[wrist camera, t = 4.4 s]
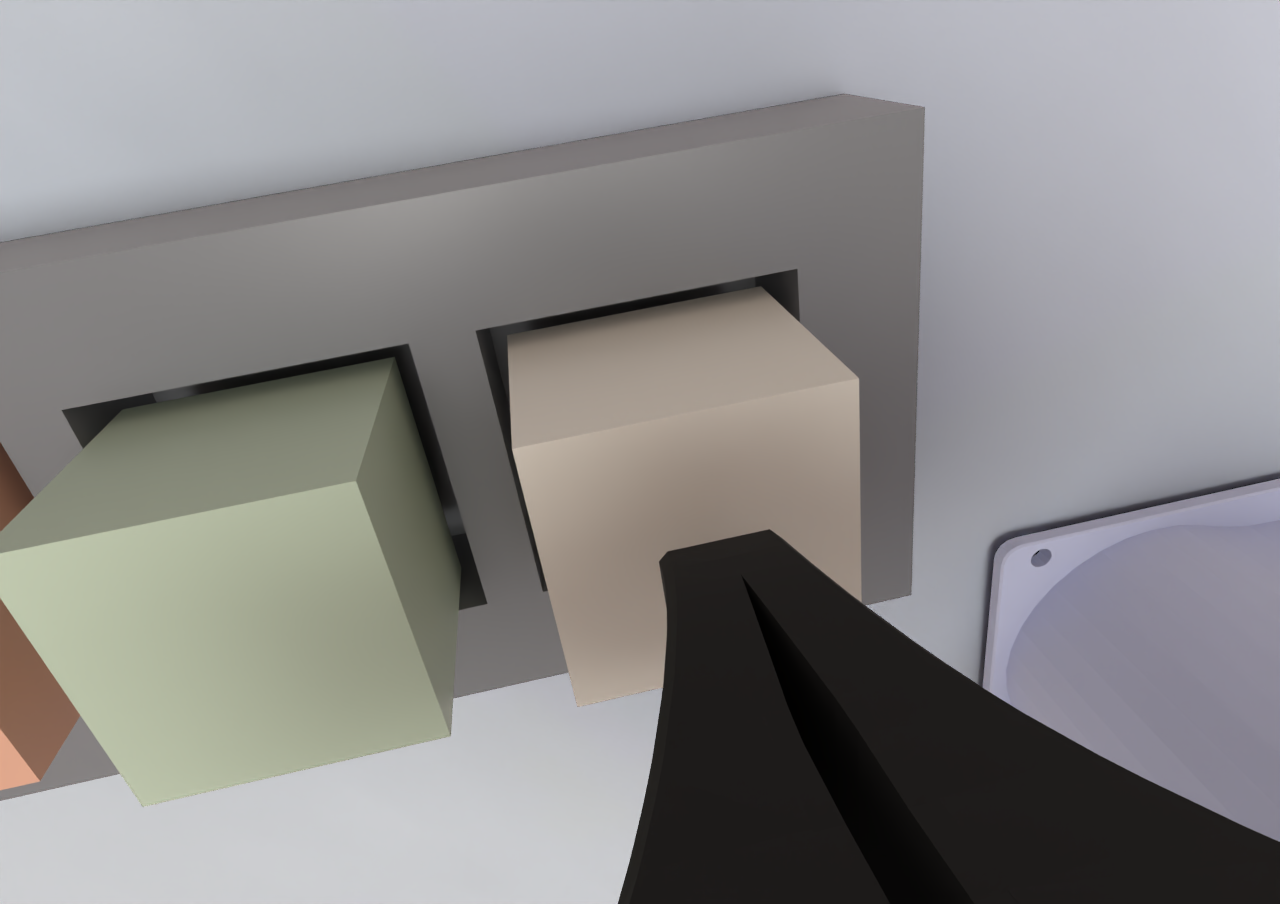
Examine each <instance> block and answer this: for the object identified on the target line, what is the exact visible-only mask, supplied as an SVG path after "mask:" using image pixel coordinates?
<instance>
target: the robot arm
mask: <svg viewBox="0 0 1280 904" xmlns="http://www.w3.org/2000/svg"><path fill="white" fill-rule="evenodd" d="M1039 550H1040V551H1039ZM1037 551H1039V552H1038V553H1037V554H1036V555H1035V556H1033V555H1034V554H1035V553H1036V552H1037ZM1032 556H1033V557H1032ZM659 566H660V572H661V578H662V584H663V590H664V596H665V602H666V608H667V640H666V654H665V668H664V682H663V691H662V700H661V706H660V713H659V719H658V726H657V732H656V739H655V745H654V752H653V758H652V764H651V769H650V774H649V779H648V784H647V789H646V794H645V799H644V803H643V808H642V813H641V817H640V821H639V825H638V829H637V834H636V838H635V842H634V846H633V850H632V854H631V858H630V862H629V866H628V869H627V873H626V877H625V880H624V884H623V887H622V891H621V894H620V898H619V902H618V904H1280V479H1276V480H1271V481H1267V482H1262V483H1258V484H1253V485H1249V486H1244V487H1240V488H1235V489H1231V490H1226V491H1222V492H1217V493H1213V494H1208V495H1204V496H1199V497H1195V498H1190V499H1186V500H1181V501H1177V502H1172V503H1168V504H1163V505H1159V506H1154V507H1150V508H1145V509H1141V510H1136V511H1132V512H1127V513H1123V514H1118V515H1114V516H1109V517H1105V518H1100V519H1096V520H1091V521H1087V522H1082V523H1078V524H1073V525H1069V526H1064V527H1060V528H1056V529H1051V530H1047V531H1042V532H1038V533H1033V534H1029V535H1024V536H1020V537H1015V538H1013V539H1010V540H1007V541H1006V542H1005V543H1003V544H1002V545H1001V546H1000V547H999V549H998V550H997V551H996V554H995V557H994V566H993V577H992V588H991V599H990V610H989V622H988V633H987V644H986V655H985V666H984V677H983V687H981V686H979V685H978V684H976V683H975V682H973V681H972V680H970V679H969V678H967V677H966V676H964V675H963V674H961V673H960V672H958V671H957V670H955V669H954V668H952V667H951V666H949V665H948V664H946V663H944V662H943V661H941V660H940V659H939V658H937V657H936V656H934V655H933V654H931V653H930V652H928V651H927V650H926V649H924V648H923V647H921V646H920V645H918V644H917V643H916V642H914V641H913V640H911V639H910V638H909V637H907V636H906V635H905V634H903V633H902V632H900V631H899V630H898V629H896V628H895V627H894V626H892V625H891V624H890V623H888V622H887V621H885V620H884V619H883V618H881V617H880V616H879V615H877V614H876V613H875V612H873V611H872V610H870V609H869V608H868V607H866V606H865V605H864V604H863V603H861V602H860V601H859V600H857V599H856V598H855V597H854V596H852V595H851V594H850V593H848V592H847V591H846V590H845V589H843V588H842V587H841V586H840V585H838V584H837V583H836V582H835V581H833V580H832V579H831V578H830V577H828V576H827V575H826V574H825V573H823V572H822V571H821V570H820V569H818V568H817V567H816V566H815V565H814V564H812V563H811V562H810V561H809V560H808V559H806V558H805V557H804V556H803V555H802V554H800V553H799V552H798V551H797V550H796V549H794V548H793V547H792V546H791V545H790V544H788V543H787V542H786V541H785V540H784V539H783V538H781V537H780V536H779V535H777V534H776V533H774V532H773V531H772V530H770V529H768V530H763V531H759V532H754V533H750V534H745V535H740V536H736V537H731V538H727V539H722V540H718V541H713V542H708V543H704V544H699V545H695V546H690V547H685V548H681V549H676V550H672V551H667V552H666V554H665V555H664V556H663V557H662V558H661V560H660V561H659Z"/></svg>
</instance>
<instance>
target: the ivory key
mask: <svg viewBox="0 0 1280 904" xmlns="http://www.w3.org/2000/svg"><path fill="white" fill-rule="evenodd" d="M507 343H508V367H509V391H510V415H511V439H512V451H513V455H514V459H515V463H516V467H517V471H518V475H519V479H520V483H521V487H522V491H523V495H524V499H525V502H526V506H527V510H528V514H529V518H530V522H531V526H532V530H533V534H534V538H535V542H536V546H537V550H538V554H539V558H540V561H541V565H542V569H543V573H544V577H545V581H546V585H547V589H548V593H549V597H550V601H551V605H552V609H553V613H554V617H555V620H556V624H557V628H558V632H559V636H560V640H561V644H562V648H563V652H564V656H565V660H566V664H567V668H568V672H569V676H570V679H571V683H572V687H573V691H574V695H575V699H576V703H577V707H580V706H584V705H589V704H593V703H597V702H602V701H606V700H610V699H615V698H619V697H624V696H628V695H632V694H637V693H641V692H645V691H650V690H654V689H658V688H663V682H664V668H665V654H666V640H667V608H666V602H665V596H664V590H663V584H662V578H661V572H660V566H659V561H660V560H661V558H662V557H663V556H664V555H665V554H666V552H667V551H672V550H676V549H681V548H685V547H690V546H695V545H699V544H704V543H708V542H713V541H718V540H722V539H727V538H731V537H736V536H740V535H745V534H750V533H754V532H759V531H763V530H768V529H770V530H772V531H773V532H774V533H776V534H777V535H779V536H780V537H781V538H783V539H784V540H785V541H786V542H787V543H788V544H790V545H791V546H792V547H793V548H794V549H796V550H797V551H798V552H799V553H800V554H802V555H803V556H804V557H805V558H806V559H808V560H809V561H810V562H811V563H812V564H814V565H815V566H816V567H817V568H818V569H820V570H821V571H822V572H823V573H825V574H826V575H827V576H828V577H830V578H831V579H832V580H833V581H835V582H836V583H837V584H838V585H840V586H841V587H842V588H843V589H845V590H846V591H847V592H848V593H850V594H851V595H852V596H854V597H855V598H856V599H857V600H859V601H860V602H861V603H862V599H861V508H860V416H859V378H858V377H857V376H856V375H855V374H854V373H853V372H852V371H851V370H850V369H849V368H848V367H847V366H845V365H844V364H843V363H842V362H841V361H840V360H839V359H838V358H837V357H836V356H835V355H834V354H833V353H832V352H831V351H829V350H828V349H827V348H826V347H825V346H824V345H823V344H822V343H821V342H820V341H819V340H818V339H817V338H816V337H815V336H813V335H812V334H811V333H810V332H809V331H808V330H807V329H806V328H805V327H804V326H803V325H802V324H801V323H800V322H799V321H797V320H796V319H795V318H794V317H793V316H792V315H791V314H790V313H789V312H788V311H787V310H786V309H785V308H784V307H783V306H781V305H780V304H779V303H778V302H777V301H776V300H775V299H774V298H773V297H772V296H771V295H770V294H769V293H768V292H767V291H765V290H764V289H763V288H762V287H761V286H759V287H754V288H749V289H743V290H738V291H733V292H728V293H723V294H718V295H712V296H707V297H702V298H697V299H692V300H687V301H681V302H676V303H671V304H666V305H661V306H655V307H650V308H645V309H640V310H635V311H630V312H624V313H619V314H614V315H609V316H604V317H598V318H593V319H588V320H583V321H578V322H573V323H567V324H562V325H557V326H552V327H547V328H542V329H536V330H531V331H526V332H521V333H516V334H510V335H507Z"/></svg>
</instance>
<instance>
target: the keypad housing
mask: <svg viewBox="0 0 1280 904" xmlns="http://www.w3.org/2000/svg"><path fill="white" fill-rule="evenodd" d="M924 118H925V107H921V106H915V105H909V104H903V103H897V102H891V101H885V100H879V99H873V98H866V97H860V96H854V95H848V94H841V95H835V96H829V97H824V98H818V99H812V100H807V101H801V102H795V103H790V104H784V105H778V106H773V107H767V108H761V109H755V110H750V111H744V112H738V113H733V114H727V115H721V116H716V117H710V118H704V119H699V120H693V121H687V122H682V123H676V124H670V125H665V126H659V127H653V128H648V129H642V130H636V131H631V132H625V133H619V134H613V135H608V136H602V137H596V138H591V139H585V140H579V141H574V142H568V143H562V144H557V145H551V146H545V147H540V148H534V149H528V150H523V151H517V152H511V153H506V154H500V155H494V156H489V157H483V158H477V159H471V160H466V161H460V162H454V163H449V164H443V165H437V166H432V167H426V168H420V169H415V170H409V171H403V172H398V173H392V174H386V175H381V176H375V177H369V178H364V179H358V180H352V181H347V182H341V183H335V184H330V185H324V186H318V187H312V188H307V189H301V190H295V191H290V192H284V193H278V194H273V195H267V196H261V197H256V198H250V199H244V200H239V201H233V202H227V203H222V204H216V205H210V206H205V207H199V208H193V209H188V210H182V211H176V212H170V213H165V214H159V215H153V216H148V217H142V218H136V219H131V220H125V221H119V222H114V223H108V224H102V225H97V226H91V227H85V228H80V229H74V230H68V231H63V232H57V233H51V234H46V235H40V236H34V237H29V238H23V239H17V240H11V241H6V242H0V442H1V444H2V446H3V447H4V449H5V451H6V452H7V454H8V456H9V457H10V459H11V460H12V462H13V464H14V465H15V467H16V469H17V470H18V472H19V474H20V475H21V477H22V479H23V480H24V482H25V483H26V485H27V487H28V488H29V490H30V492H31V493H32V495H33V497H34V498H35V497H36V496H37V495H38V494H39V493H40V492H41V491H42V490H43V489H44V488H45V487H46V486H47V485H48V484H49V483H50V482H51V481H52V480H53V479H54V478H55V477H56V476H57V475H58V474H59V473H60V472H61V471H62V470H63V469H64V468H65V467H66V466H67V465H68V464H69V463H70V462H71V461H72V460H73V459H74V458H75V457H76V456H77V455H78V454H79V453H80V452H81V451H82V450H83V449H84V448H85V447H86V446H87V445H88V444H89V443H90V442H91V441H92V440H93V439H94V438H95V437H96V436H97V435H98V434H99V433H100V432H101V431H102V430H103V429H104V428H105V427H106V426H107V425H108V424H109V423H110V422H111V421H112V420H113V419H114V418H115V417H116V416H117V415H118V414H119V413H120V412H121V411H122V410H123V409H127V408H132V407H138V406H143V405H148V404H153V403H158V402H163V401H169V400H174V399H179V398H184V397H189V396H195V395H200V394H205V393H210V392H215V391H220V390H226V389H231V388H236V387H241V386H246V385H252V384H257V383H262V382H267V381H272V380H277V379H283V378H288V377H293V376H298V375H303V374H308V373H314V372H319V371H324V370H329V369H334V368H340V367H345V366H350V365H355V364H360V363H365V362H371V361H376V360H381V359H386V358H391V357H395V360H396V363H397V366H398V369H399V372H400V375H401V379H402V382H403V385H404V388H405V391H406V394H407V398H408V401H409V404H410V407H411V410H412V413H413V417H414V420H415V423H416V426H417V429H418V432H419V436H420V439H421V442H422V445H423V448H424V451H425V455H426V458H427V461H428V464H429V467H430V470H431V474H432V477H433V480H434V483H435V486H436V489H437V493H438V496H439V499H440V502H441V505H442V508H443V512H444V515H445V518H446V521H447V524H448V527H449V531H450V534H451V537H452V540H453V543H454V546H455V550H456V553H457V556H458V559H459V562H460V565H461V581H460V597H459V613H458V629H457V645H456V660H455V676H454V692H453V698H457V697H462V696H466V695H470V694H475V693H479V692H484V691H488V690H493V689H497V688H501V687H506V686H510V685H515V684H519V683H524V682H528V681H532V680H537V679H541V678H546V677H550V676H555V675H559V674H563V673H568V668H567V664H566V660H565V656H564V652H563V648H562V644H561V640H560V636H559V632H558V628H557V624H556V620H555V617H554V613H553V609H552V605H551V601H550V597H549V593H548V589H547V585H546V581H545V577H544V573H543V569H542V565H541V561H540V558H539V554H538V550H537V546H536V542H535V538H534V534H533V530H532V526H531V522H530V518H529V514H528V510H527V506H526V502H525V499H524V495H523V491H522V487H521V483H520V479H519V475H518V471H517V467H516V463H515V459H514V455H513V451H512V439H511V415H510V391H509V367H508V343H507V335H510V334H516V333H521V332H526V331H531V330H536V329H542V328H547V327H552V326H557V325H562V324H567V323H573V322H578V321H583V320H588V319H593V318H598V317H604V316H609V315H614V314H619V313H624V312H630V311H635V310H640V309H645V308H650V307H655V306H661V305H666V304H671V303H676V302H681V301H687V300H692V299H697V298H702V297H707V296H712V295H718V294H723V293H728V292H733V291H738V290H743V289H749V288H754V287H759V286H761V287H762V288H763V289H764V290H765V291H767V292H768V293H769V294H770V295H771V296H772V297H773V298H774V299H775V300H776V301H777V302H778V303H779V304H780V305H781V306H783V307H784V308H785V309H786V310H787V311H788V312H789V313H790V314H791V315H792V316H793V317H794V318H795V319H796V320H797V321H799V322H800V323H801V324H802V325H803V326H804V327H805V328H806V329H807V330H808V331H809V332H810V333H811V334H812V335H813V336H815V337H816V338H817V339H818V340H819V341H820V342H821V343H822V344H823V345H824V346H825V347H826V348H827V349H828V350H829V351H831V352H832V353H833V354H834V355H835V356H836V357H837V358H838V359H839V360H840V361H841V362H842V363H843V364H844V365H845V366H847V367H848V368H849V369H850V370H851V371H852V372H853V373H854V374H855V375H856V376H857V377H858V378H859V416H860V508H861V599H862V603H863V604H864V605H869V604H873V603H878V602H882V601H886V600H891V599H895V598H900V597H904V596H909V595H911V586H912V550H913V514H914V478H915V442H916V406H917V370H918V334H919V298H920V262H921V226H922V190H923V154H924ZM116 774H120V773H119V771H118V770H117V768H116V767H115V765H114V764H113V762H112V761H111V759H110V758H109V756H108V755H107V754H106V752H105V751H104V749H103V748H102V746H101V745H100V743H99V742H98V740H97V739H96V737H95V736H94V735H93V733H92V732H91V730H90V729H89V727H88V726H87V724H86V723H85V721H84V720H83V718H82V717H81V715H80V717H79V719H78V720H77V722H76V723H75V725H74V727H73V728H72V730H71V732H70V733H69V735H68V737H67V738H66V740H65V742H64V743H63V745H62V746H61V748H60V750H59V751H58V753H57V755H56V756H55V758H54V760H53V761H52V763H51V764H50V766H49V768H48V769H47V771H46V773H45V774H44V776H43V778H42V779H41V781H40V782H35V783H31V784H26V785H22V786H17V787H13V788H9V789H4V790H0V801H1V800H6V799H10V798H15V797H19V796H23V795H28V794H32V793H37V792H41V791H46V790H50V789H54V788H59V787H63V786H68V785H72V784H77V783H81V782H85V781H90V780H94V779H99V778H103V777H108V776H112V775H116Z"/></svg>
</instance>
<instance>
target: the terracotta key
mask: <svg viewBox="0 0 1280 904" xmlns="http://www.w3.org/2000/svg"><path fill="white" fill-rule="evenodd" d="M33 499H34V497H33V495H32V493H31V492H30V490H29V488H28V487H27V485H26V483H25V482H24V480H23V479H22V477H21V475H20V474H19V472H18V470H17V469H16V467H15V465H14V464H13V462H12V460H11V459H10V457H9V456H8V454H7V452H6V451H5V449H4V447H3V446H2V444H1V442H0V532H1V531H2V530H3V529H4V528H5V527H6V526H7V525H8V524H9V523H10V522H11V521H12V520H13V519H14V518H15V517H16V516H17V515H18V514H19V513H20V512H21V511H22V510H23V509H24V508H25V507H26V506H27V505H28V504H29V503H30V502H31V501H32V500H33ZM79 717H80V714H79V713H78V711H77V710H76V708H75V707H74V705H73V704H72V702H71V701H70V699H69V698H68V696H67V695H66V694H65V692H64V691H63V689H62V688H61V686H60V685H59V683H58V682H57V680H56V679H55V677H54V676H53V674H52V673H51V672H50V670H49V669H48V667H47V666H46V664H45V663H44V661H43V660H42V658H41V657H40V655H39V654H38V653H37V651H36V650H35V648H34V647H33V645H32V644H31V642H30V641H29V639H28V638H27V636H26V635H25V633H24V632H23V631H22V629H21V628H20V626H19V625H18V623H17V622H16V620H15V619H14V617H13V616H12V614H11V613H10V612H9V610H8V609H7V607H6V606H5V604H4V603H3V601H2V600H1V598H0V790H4V789H9V788H13V787H17V786H22V785H26V784H31V783H35V782H40V781H41V779H42V778H43V776H44V774H45V773H46V771H47V769H48V768H49V766H50V764H51V763H52V761H53V760H54V758H55V756H56V755H57V753H58V751H59V750H60V748H61V746H62V745H63V743H64V742H65V740H66V738H67V737H68V735H69V733H70V732H71V730H72V728H73V727H74V725H75V723H76V722H77V720H78V719H79Z"/></svg>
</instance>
